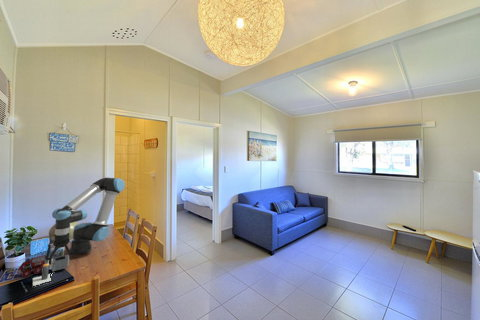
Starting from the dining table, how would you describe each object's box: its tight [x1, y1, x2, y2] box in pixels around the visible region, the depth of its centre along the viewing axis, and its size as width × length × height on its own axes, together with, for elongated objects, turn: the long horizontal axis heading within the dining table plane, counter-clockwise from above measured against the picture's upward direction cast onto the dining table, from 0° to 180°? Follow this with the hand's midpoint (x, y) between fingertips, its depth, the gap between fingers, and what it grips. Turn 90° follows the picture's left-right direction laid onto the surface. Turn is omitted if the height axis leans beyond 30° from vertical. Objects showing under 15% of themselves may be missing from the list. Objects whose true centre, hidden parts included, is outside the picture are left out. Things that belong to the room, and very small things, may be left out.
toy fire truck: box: [17, 254, 46, 278], centre depth 128 cm, size 7×12×10 cm, turn 138°
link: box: [51, 254, 69, 272], centre depth 133 cm, size 8×8×6 cm
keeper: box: [32, 262, 54, 287], centre depth 121 cm, size 10×10×10 cm
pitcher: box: [48, 221, 80, 241], centre depth 181 cm, size 22×24×25 cm
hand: (59, 266), depth 133 cm, fingers closed on link, 7 cm apart
